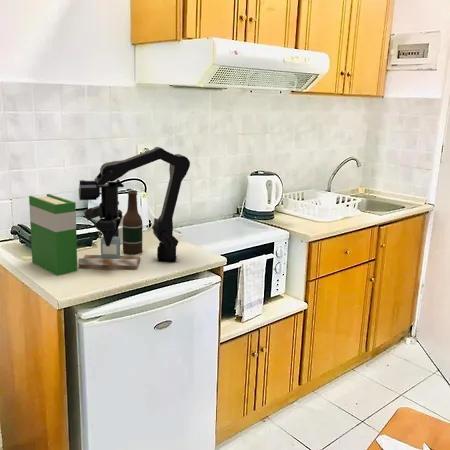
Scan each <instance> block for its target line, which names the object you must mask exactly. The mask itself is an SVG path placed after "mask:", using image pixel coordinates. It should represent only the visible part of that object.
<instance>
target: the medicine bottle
mask: <svg viewBox="0 0 450 450" xmlns="http://www.w3.org/2000/svg"><path fill="white" fill-rule="evenodd" d="M124 215H125V213H123V212H122V218H121V219H122V220H121V222H120V224H119V227H118V229H117V232H116V234H115V237H120V245H123V218H124ZM118 218H120V217H118Z"/></svg>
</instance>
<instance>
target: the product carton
mask: <svg viewBox="0 0 450 450" xmlns="http://www.w3.org/2000/svg"><path fill="white" fill-rule="evenodd" d="M100 255H101V259H120V256H121V244H120V237H113V238H112V241H111V243H110V246H106V244H105V240H104V237H103V236H102V237H101V239H100Z"/></svg>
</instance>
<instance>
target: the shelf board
mask: <svg viewBox="0 0 450 450" xmlns="http://www.w3.org/2000/svg"><path fill="white" fill-rule="evenodd" d="M140 261H141V256H140V255H120V259H101V254H84V256H83V257H78V258H77V262H78V269H81V270H82V269H89V270H121V271H122V270H123V271H124V270H126V271H127V270H128V271H137V270H138V268H139V264H140Z"/></svg>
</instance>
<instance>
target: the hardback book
mask: <svg viewBox="0 0 450 450" xmlns="http://www.w3.org/2000/svg"><path fill="white" fill-rule="evenodd" d="M28 201H29V202H28V204H29V206H28V207H29V220H30V225H29V226H30V240H31V241H30V242H31V245H30V246H31V260H32V261H31V262H32V264H35V266H36V265H37V266H39V267H40V268H42V269H44V270H46V271H48V272H49V273H51V274H53V275H56V276H62V275H63V276H64V275H66V274H70V273H71V274H72V273H74V272H78V247H77V245H78V243H77V240H78V239H77V212H76V211H77V208H76V205H77V204H76V202H75V201H72V200H69V199H66V198H63V197H60V196H56V195H54V194H51V193H47V194H46V196H39V197H36V196H33V195H29V196H28Z"/></svg>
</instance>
